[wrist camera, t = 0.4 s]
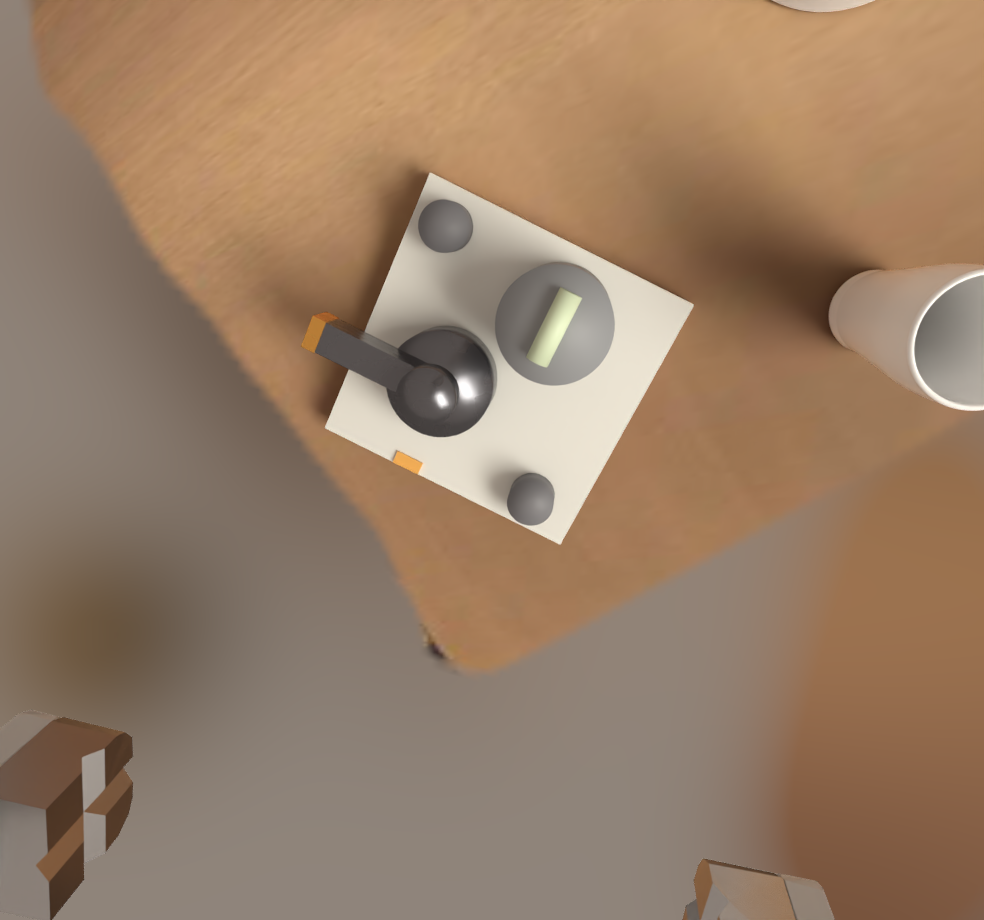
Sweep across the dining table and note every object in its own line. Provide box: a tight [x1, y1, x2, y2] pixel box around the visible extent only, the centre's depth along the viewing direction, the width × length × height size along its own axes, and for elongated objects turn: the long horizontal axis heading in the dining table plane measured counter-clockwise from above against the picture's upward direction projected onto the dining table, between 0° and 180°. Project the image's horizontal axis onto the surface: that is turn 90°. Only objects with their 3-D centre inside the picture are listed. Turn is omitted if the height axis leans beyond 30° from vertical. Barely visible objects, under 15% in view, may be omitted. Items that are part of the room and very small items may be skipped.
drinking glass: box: [829, 263, 984, 411], centre depth 41 cm, size 7×7×15 cm
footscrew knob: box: [301, 312, 497, 437], centre depth 47 cm, size 12×7×7 cm, turn 65°
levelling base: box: [325, 173, 694, 544], centre depth 48 cm, size 19×19×9 cm
